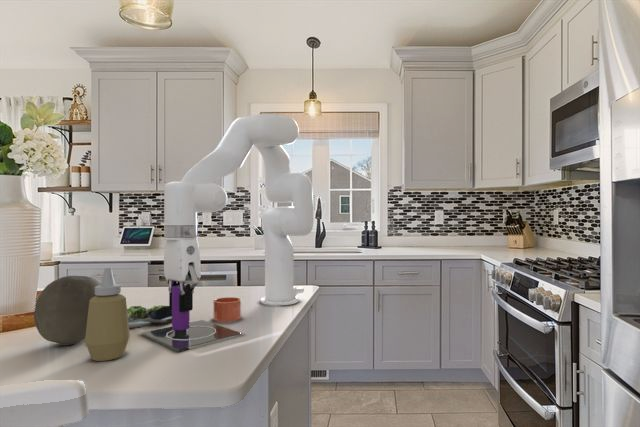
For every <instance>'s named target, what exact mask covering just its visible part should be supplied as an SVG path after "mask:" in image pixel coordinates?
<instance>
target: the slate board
mask: <svg viewBox="0 0 640 427" xmlns="http://www.w3.org/2000/svg"><path fill="white" fill-rule="evenodd" d="M238 335H242V332H240V331H236V330H234V329H230V328H227V327H224V326H221V325H218V324H216V323H212V322H209V321H206V320H203V319H200V320H196V321H191V322H190V327H189V328H188V329H187V332H186V333H183V334H175V330H173V329H172V326H167V327H163V328H158V329H153V330H148V331H144V332H141V336H142V337H145V338H147V339H150V340H151V341H153V342H156V343H158V344H160V345H162V346H164V347H166V348H168V349H171V350H173V351H175V352H177V353H182V352H185V351H188V350H190V348H192V347H196V346H200V345H203V344H207V343H208V344H209V343H212V342H215V341H219V340H223V339H227V338H231V337H234V336H238Z"/></svg>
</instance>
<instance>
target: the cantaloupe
mask: <svg viewBox="0 0 640 427" xmlns="http://www.w3.org/2000/svg"><path fill="white" fill-rule="evenodd" d="M99 285H101V281H98V279H95V278H94V277H92V276H91V277H90V276H87V275H66V276H62V277H59V278H58V279H54V280H53V281H51V282H50V283H48V284H47V285H46V286H45V287H44V289H43V290H42V291H41V293H40V294H39V296H38V297H37V299H36V301H35V305H34V306H35V307H34V313H33V319H34V320H33V321H34V325H35V327H36V329H37V331H38V333H39V335H40V336H41V337H42V338H43V339H44V340H46V341H49V342H52V343H56V344H59V345H61V346H71V345H75V344H77V343H80V342H82V341H85V336H86V327H87V318H88V309H89V300H91V299H92V298H93V297H95V296H97V295H95V287H96V286H99Z"/></svg>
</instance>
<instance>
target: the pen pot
mask: <svg viewBox="0 0 640 427" xmlns="http://www.w3.org/2000/svg"><path fill="white" fill-rule="evenodd" d="M212 301H213V302H212V303H213V304H212V305H213V306H212V307H213V308H212V312H213V313H212V315H213V316H212V318H213V321H215V322H220V323H229V322H235V321H238V320H241V319H242V299H241V297H234V296H230V297H229V296H228V297H225V296H224V297H219V298H215V299H213V300H212Z"/></svg>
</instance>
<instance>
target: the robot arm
mask: <svg viewBox="0 0 640 427" xmlns="http://www.w3.org/2000/svg"><path fill="white" fill-rule="evenodd" d="M299 134H300V129H299V125H298V123H297V121H296V120H295V119H294V118H293V117H291V116H287V115H278V114H270V113H258V114H252V115H247V116H240V117H237V118H236V119H235V120H233V121H232V122H231V124H230V126H229V127H228V129H227V130H226V132H225V133H224V134H223V136H222V138H221V139H220V141H219V143H218V144H217V146H216V147H215V148H214V150H213V151H212V152H210V153H209V154H207V155H206V156H204V157H203V158H202V159H201V160H200V161H198V162H197V163H196V164H194V165H193V166H192V167H191V168H189V169H188V171H187V172H186V173H185V174H184V176H183V177H182V178H181V180H180V181H170V182H167V183H166V184H165V185H164V188H163V189H164V190H163V191H164V192H163V193H164V194H163V196H164V197H163V202H164V203H163V208H164V209H163V220H164V221H163V240H164V241H165V244H164V254H163V255H164V256H163V275H164V278H165V280H166V282H167V286H168V287H167V288H168V289H167V290H168V292H169V296H168V298H169V301H168V303H169V304H168V306H169V308H170V309H172V287H173V286H178V285H180V291H181V295H179V312H185V311H190V312H191V311H193V309H194V307H193V306H194V305H193V302H194V301H193V298H194V295H193V294H195V288H196V286H197V285H198V284H199V281H200V280H201V276H202V269H201V268H202V267H201V252H200V246H199V240H198V213H199V214H200V213H202V214H209V213H217V212H220V211H221V210H223V209H224V208H225V207H226V205H227V203H228V194H227V191H226V190H225V188H224V187H223V186H221V185H219V184H218V183H214V182H216V181H218V180H219V179H222V178H225V177H227V176H229V175H232V174H233V173H235V172H237V171H238V170H240V169H241V168H242V167H243V165H244V163H245V161H246V160H247V157H248V156H249V154H250V152H251V150H252V149H253V148H254V147H255V148H256V149H257V151H258V152H259V153H260V155H261V156H262V160H263V164H264V187H265V188H264V190H265V196H266V199H267V200H268V201H269V202H271V203H278V204H284V203H285V204H287V203H289V204H290V203H293V206H274V207H273V206H272V207H270V208H268V209H266V210H265V211H264V212H263V214H262V217H261V227H262V231H263V238H264V296H263V297H261V298H260V303H261V304H264V305H271V306H291V305H295V304H297V303H299V297H298V296H297V295H298V294H303V293H304V292H305V289H304V287H302V286H301V287H300V286H299V287H297V286H295V283H294V282H295V280H294V279H295V278H294V277H295V273H294V270H295V268H294V265H295V264H294V262H295V260H294V259H295V258H294V257H295V256H294V254H295V252H294V250H295V249H294V246H293V243H292V241H291V239H290V237H303V236H304V237H305V236H308V235H309V234H311V232H312V231H313V227H314V190H313V184H312V181H311V179H310V177H309V176H308V175H307V174H306V173H303V172H291V160H290V156H289V154H288V152H287V151H286V149H285V148H284V147H283V146H286V145H287V146H288V145H292V144H294V143H295V142H296V141H297V140H298V139H299ZM187 279H188V280H187ZM185 285H186V286H185Z"/></svg>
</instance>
